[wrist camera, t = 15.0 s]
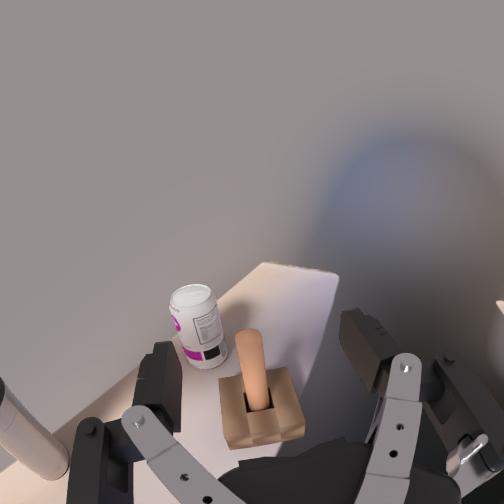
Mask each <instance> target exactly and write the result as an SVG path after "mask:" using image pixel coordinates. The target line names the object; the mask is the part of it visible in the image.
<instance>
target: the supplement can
mask: <svg viewBox="0 0 504 504" xmlns="http://www.w3.org/2000/svg"><path fill="white" fill-rule="evenodd" d="M169 308H170V311H171V314H172V317H173V320H174V323H175V326H176V329H177V332H178V335H179V338H180V341H181V344H182V346H183V349H184V352H185V355H186V357H187V360H188V362H189V364H190V365H192V366H193V367H195V368H198V369H212V368H215V367H217V366H219V365H220V364H221V363H222V362H223V361H224V360H225V359H226V357H227V354H228V353H227V346H226V342H225V338H224V333H223V329H222V324H221V320H220V315H219V310H218V306H217V301H216V297H215V295H214V294H213V293H212V292H211V291H210V289H209V288H208V287H207V286H205V285H201V284H192V285H187V286H184V287H181V288H180V289H178V290H176V291H175V292H174V293H173V294H172V296H171V302H170V307H169Z"/></svg>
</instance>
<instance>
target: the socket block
mask: <svg viewBox="0 0 504 504" xmlns="http://www.w3.org/2000/svg"><path fill="white" fill-rule="evenodd" d="M266 378H267V387H268V395H269V404H270V405H272V409H266V410H261V411H255V412H249V413H248V412H247V409H249V403H248V399H247V394H246V390H245V385H244V380H243V376H242V375H239V376H233V377H226V378H219V391H220V402H221V413H222V423H223V432H224V438H225V440H226V442H227V444H228V446H229V448H230V450H235V449H242V448H249V447H256V446H261V445H267V444H272V443H277V442H282V441H287V440H291V439H296V438H300V437H304V433H305V418H304V415H303V412H302V410H301V407H300V404H299V401H298V398H297V395H296V392H295V389H294V386H293V383H292V380H291V378H290V375H289V372H288V369H287V367H283V368H278V369H273V370H268V371H266Z"/></svg>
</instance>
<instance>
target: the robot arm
mask: <svg viewBox="0 0 504 504" xmlns="http://www.w3.org/2000/svg"><path fill="white" fill-rule="evenodd" d="M339 340H340V344H341V346H342V348H343V350H344V351H345V353H346V355H347V356H348V358H349V360H350V361H351V363H352V365H353V366H354V368H355V370H356V372H357V374H358V375H359V377H360V379H361V381H362V382H363V384H364V386H365V388H366V389H367V391H368V393H369V394H372V393H375V392H378V393H379V395H380V396H379V398H378V402H377V406H376V410H375V413H374V417H373V421H372V424H371V427H370V430H369V433H368V436H367V438H366V441H365V443H362V442H346V440H345V437H341V438H338V439H335V440H332V441H329V442H326V443H322V444H319V445H317V446H315V447H313V448H311V449H310V450H308V451H306V452H304V453H301V454H299V455H297V456H295V457H261V458H255V459H248V460H241V461H238V462H239V467H237V468H234V469H232V470H230V471H228V472H226V473H225V474H223V475H222V476H221V477H219V478H218V479H216V478H215V477H214V476H213V475H212V474H210V473H209V472H208V471H207V470H206V469H205V468H204V467H203V466H202V465H201V464H200V463H199V462H198V461H197V460H196V459H195V458H194V457H193V456H192V455H191V454H190V453H189V452H188V451H187V450H186V449H185V448H184V447H183V446H182V445H181V444H180V443H179V442H177V441H176V440H175V438H174V437H173V433H174V432H181V398H182V367H181V363H180V361H179V358H178V356H177V353H176V351H175V348H174V346H173V343H172V342H171V341H165V342H156V343H155V344H154V349H153V354H146V356H145V357H144V359H143V360H142V361H141V363H140V368H139V373H138V377H137V379H138V380H137V382H136V387H135V392H134V398H133V403H132V407H130V408H129V409H127V410H126V411H125V412H124V414H123V415H122V418H120V419H117V420H114V421H110V422H106V423H103V422H102V421H101V420H100V419H98V418H95V417H89V418H86V419H84V420H82V421H81V422H80V423H79V425H78V427H77V431H76V436H75V441H74V446H73V452H72V458H71V465H70V472H69V480H68V490H67V502H66V504H134V498H133V462H137V461H141V460H145V459H146V461H147V464H148V466H149V467H150V468H151V470H152V471H153V472H154V473H155V475H156V476H157V477H158V478H159V480H160V481H161V482H162V483H163V484H164V485H165V487H166V488H167V489H168V490H169V491H170V492H171V493H172V495H173V496H174V497H175V498H176V499H177V500H178V501H179V502H180V503H181V504H461V498H462V497H464V496H465V495H466V494H468V493H469V492H471V491H472V490H473V489H474V488H476V487H478V486H480V485H481V484H482V483H484V482H486V481H487V480H489V479H490V478H491V477H493V476H494V475H496V474H497V473H498V472H500V471H501V470H503V469H504V412H503V411H502V409H501V408H500V406H499V405H498V404H497V402H496V401H495V399H494V398H493V396H492V395H491V394H490V392H489V391H488V390H487V388H486V387H485V386H484V384H483V383H482V382H481V380H480V379H479V378H478V376H477V375H476V374H475V372H474V371H473V370H472V369H471V367H470V366H469V365H468V363H467V362H466V361H465V360H464V359H463V357H462V356H461V355H460V354H459V353H458V352H457V351H456V350H454V349H451V348H444V349H441V350H440V351H439V352H438V353H437V355H436V358H431V359H423V360H419V358H417V357H416V356H415V355H413V354H409V353H404V352H403V351H402V350H401V349H400V347H399V346H398V345H397V344H396V342H395V341H394V340H393V339H392V337H391V336H390V335H389V334H388V333H387V331H386V330H385V329H384V328H383V326H382V325H381V324H380V322H379V321H378V320H377V319H375V318H373V317H372V316H370V315H366V316H365V315H364V314H363V313H362V312H361V311H360V309H359V308H352V309H348V310H345V311H342V314H341V323H340V332H339ZM447 390H448V391H447ZM449 393H450V394H449ZM451 396H452V397H451ZM452 398H453V399H454V400H453V399H452ZM454 401H455V402H454ZM422 406H423V407H424V409H425V411H426V412H427V414H428V416H429V418H430V420H431V421H432V423H433V425H434V427H435V429H436V430H437V432H438V434H439V436H440V438H441V440H442V442H443V443H444V445H445V447H446V449H447V451H448V453H449V455H448V457H447V462H446V463H447V466H446V470H447V471H448V475H445V474H443V473H440V472H437V471H434V470H431V469H428V468H426V467H423V466H420V465H417V464H415V463H413V462H412V461H413V457H414V452H415V447H416V442H417V437H418V431H419V425H420V418H421V410H422ZM0 445H1V446H2V447H3V448H4V449H5V450H6V451H8V452H9V453H10V454H11V455H12V456H13V457H15V458H16V459H17V460H19V461H20V462H21V463H22V464H24V465H25V466H26V467H28V468H29V469H30V470H32V471H33V472H35V473H36V474H38V475H39V476H40V477H42V478H44V479H46V480H56V479H58V478H60V477H61V476H62V475H63V474H64V473H65V472H66V470H67V467H68V463H69V456H68V452H67V450H66V448H65V447H64V445H63V444H62V443H60V442H59V441H58V440H57V439H56V438H55V437H54V436H53V435H52V434H51V433H50V432H49V431H48V430H47V429H46V428H44V427H43V426H42V425H41V424H40V423H39V422H38V421H37V420H36V419H35V417H34V416H33V415H32V414H31V413H30V412H29V411H28V410H27V409H26V408H25V407H24V405H23V404H22V403H21V402H20V401H19V400H18V399H17V397H16V396H15V395H14V394H13V393H12V392H11V390H10V389H9V388H8V387H7V385H6V384H5V383H4V381H3V380H2V379H1V377H0Z"/></svg>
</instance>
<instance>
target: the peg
mask: <svg viewBox="0 0 504 504" xmlns="http://www.w3.org/2000/svg"><path fill="white" fill-rule="evenodd" d="M235 342H236V347H237V352H238V356H239V361H240V366H241V371H242V376H243V380H244V385H245V390H246V394H247V399H248V403H249V408H250V412H255V411H261V410H266V409H270V404H269V395H268V387H267V378H266V370H265V361H264V352H263V344H262V335H261V333H260V332H259V331H258V330H256V329H244V330H241V331H240V332H238V333H237V334H236V336H235Z"/></svg>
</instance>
